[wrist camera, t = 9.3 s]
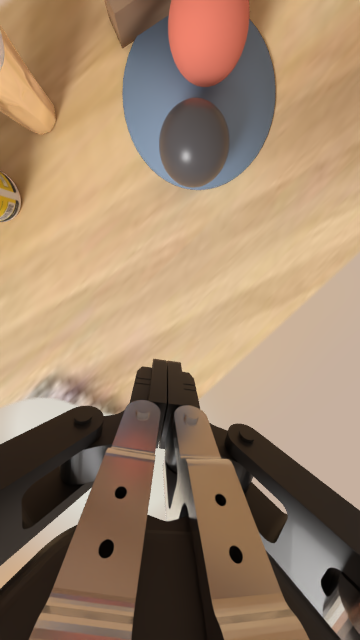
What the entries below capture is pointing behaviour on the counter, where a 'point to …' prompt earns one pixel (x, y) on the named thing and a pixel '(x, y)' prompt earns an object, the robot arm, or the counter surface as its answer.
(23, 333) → the counter surface
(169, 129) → the dark gray ball
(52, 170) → the counter surface
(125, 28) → the stopper rail
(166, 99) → the blue-grey flat disc
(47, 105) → the milkshake
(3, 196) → the supplement bottle
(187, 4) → the red ball
